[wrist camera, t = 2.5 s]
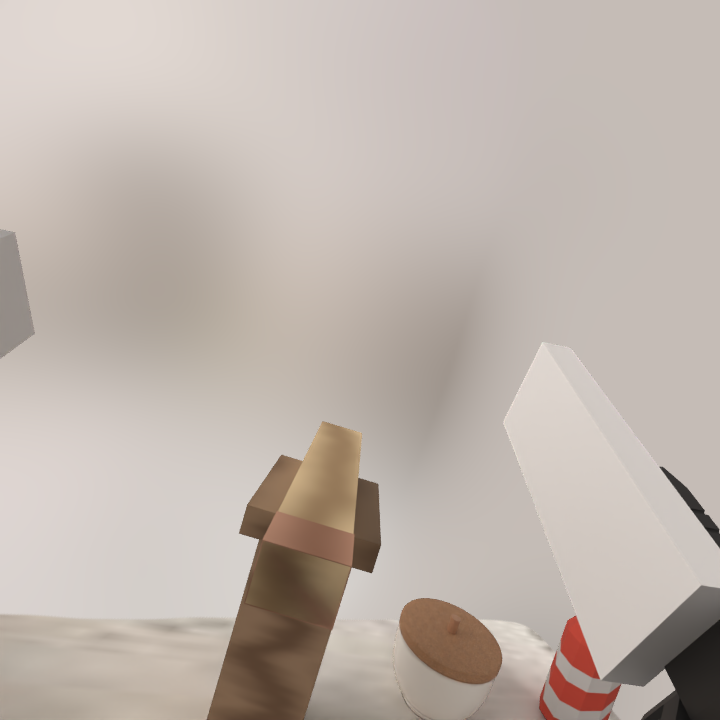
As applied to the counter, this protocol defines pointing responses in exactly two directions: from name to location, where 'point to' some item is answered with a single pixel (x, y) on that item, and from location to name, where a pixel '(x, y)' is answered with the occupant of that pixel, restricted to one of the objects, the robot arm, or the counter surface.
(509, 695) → the counter surface
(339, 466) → the tan wooden bar
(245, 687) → the walnut stand
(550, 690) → the beverage can
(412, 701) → the lidded jar
